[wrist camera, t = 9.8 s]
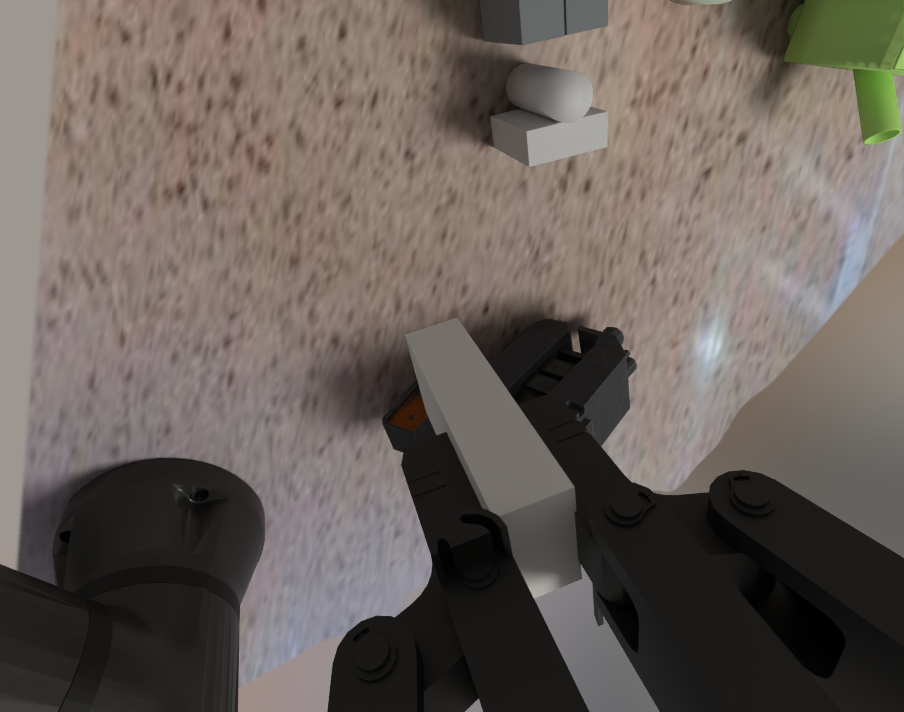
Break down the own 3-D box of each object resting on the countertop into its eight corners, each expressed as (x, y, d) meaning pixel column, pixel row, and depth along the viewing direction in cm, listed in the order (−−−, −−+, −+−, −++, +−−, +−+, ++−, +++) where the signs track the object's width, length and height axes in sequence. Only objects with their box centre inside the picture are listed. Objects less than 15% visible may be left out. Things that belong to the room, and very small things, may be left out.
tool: (357, 409, 41) (510, 494, 31) (510, 283, 50) (665, 318, 41) (382, 463, 44) (527, 554, 35) (521, 336, 54) (666, 380, 44)
